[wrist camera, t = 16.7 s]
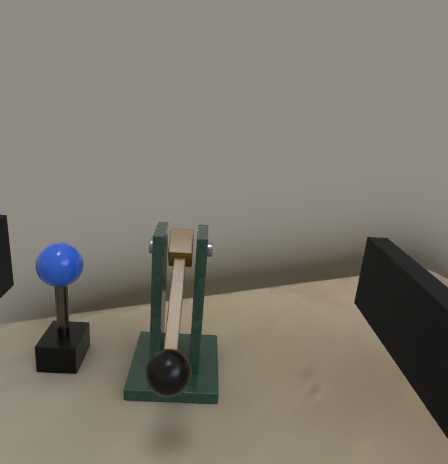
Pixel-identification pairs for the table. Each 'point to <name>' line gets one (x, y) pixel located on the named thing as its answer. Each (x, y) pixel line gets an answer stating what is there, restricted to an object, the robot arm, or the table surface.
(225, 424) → the table surface
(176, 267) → the switch lever
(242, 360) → the table surface
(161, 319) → the switch bracket
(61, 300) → the blue knob joystick
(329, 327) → the table surface
